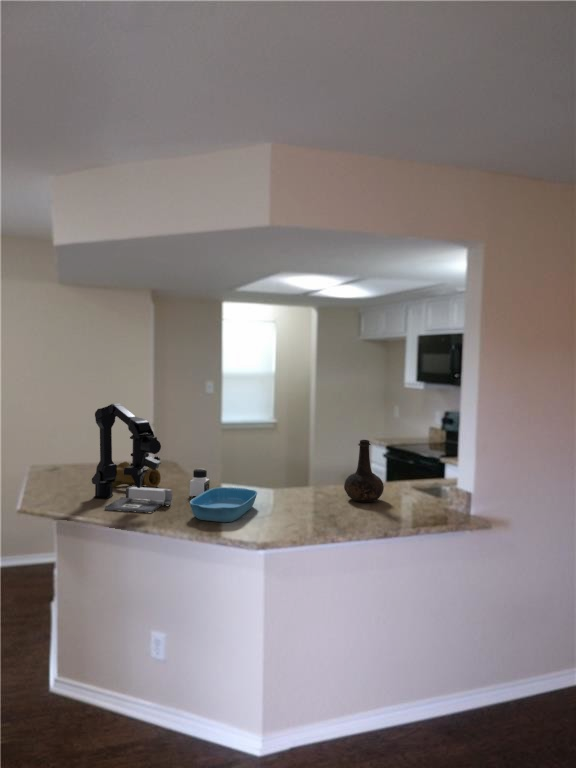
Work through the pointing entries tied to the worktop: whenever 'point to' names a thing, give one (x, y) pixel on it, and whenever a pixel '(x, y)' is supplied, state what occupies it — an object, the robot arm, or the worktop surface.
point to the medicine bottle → (199, 482)
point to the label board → (136, 504)
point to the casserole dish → (223, 503)
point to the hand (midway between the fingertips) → (138, 487)
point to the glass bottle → (364, 478)
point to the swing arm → (149, 493)
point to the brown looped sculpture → (149, 479)
